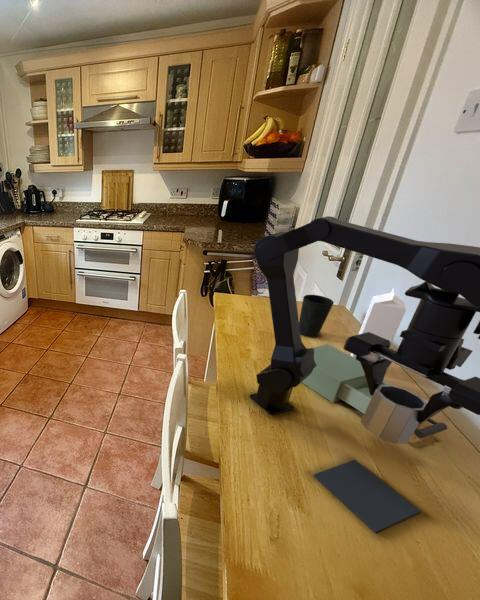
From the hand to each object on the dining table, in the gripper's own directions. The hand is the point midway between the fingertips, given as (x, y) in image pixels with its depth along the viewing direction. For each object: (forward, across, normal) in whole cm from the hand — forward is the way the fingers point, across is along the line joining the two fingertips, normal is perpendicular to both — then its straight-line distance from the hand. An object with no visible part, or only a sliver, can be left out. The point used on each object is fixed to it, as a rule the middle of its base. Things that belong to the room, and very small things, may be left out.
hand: (395, 408), depth 55 cm
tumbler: (+5, 0, 0) cm, 5 cm away
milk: (+12, +20, -31) cm, 39 cm away
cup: (+12, +38, -33) cm, 52 cm away
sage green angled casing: (+12, +19, -15) cm, 27 cm away
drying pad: (+12, -4, +9) cm, 16 cm away
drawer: (+11, +6, -14) cm, 19 cm away
